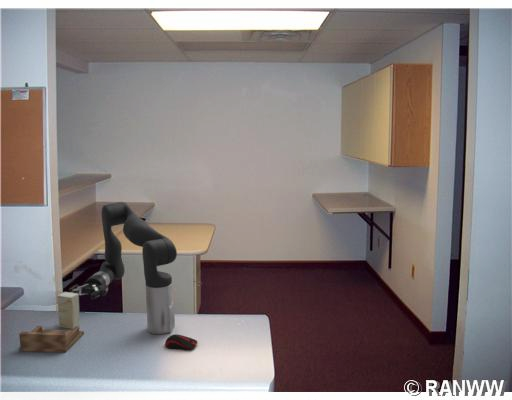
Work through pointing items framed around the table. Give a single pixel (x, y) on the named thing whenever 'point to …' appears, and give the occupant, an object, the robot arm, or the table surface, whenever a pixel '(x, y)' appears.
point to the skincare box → (68, 310)
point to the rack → (49, 339)
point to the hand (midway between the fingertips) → (81, 297)
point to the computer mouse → (180, 342)
